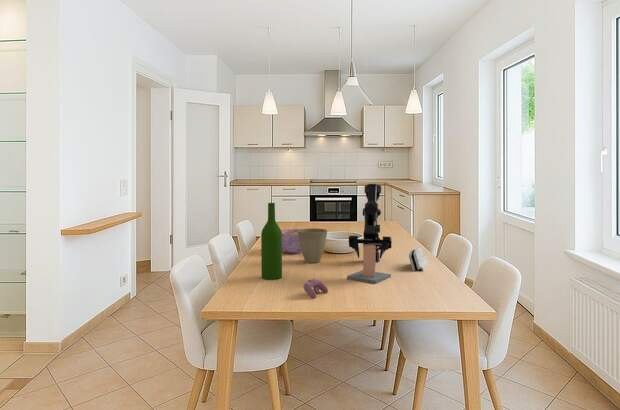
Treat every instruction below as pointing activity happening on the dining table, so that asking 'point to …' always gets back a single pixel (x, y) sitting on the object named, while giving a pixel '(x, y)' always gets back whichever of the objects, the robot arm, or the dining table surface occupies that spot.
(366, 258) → the terracotta sleeve
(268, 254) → the wine bottle
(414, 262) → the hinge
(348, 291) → the dining table surface
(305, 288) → the video game controller
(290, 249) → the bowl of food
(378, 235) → the robot arm
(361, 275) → the charcoal plate
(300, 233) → the plant pot
